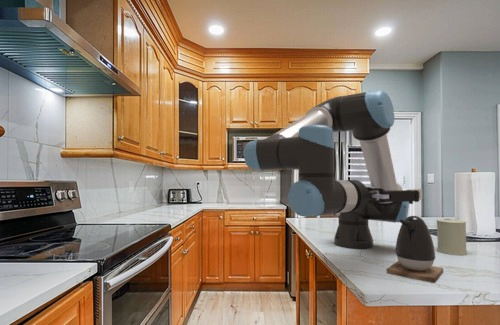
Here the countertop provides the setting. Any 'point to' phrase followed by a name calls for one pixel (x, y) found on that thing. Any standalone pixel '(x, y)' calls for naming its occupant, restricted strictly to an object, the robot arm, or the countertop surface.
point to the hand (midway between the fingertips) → (395, 192)
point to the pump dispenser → (415, 245)
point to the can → (451, 236)
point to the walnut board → (416, 272)
